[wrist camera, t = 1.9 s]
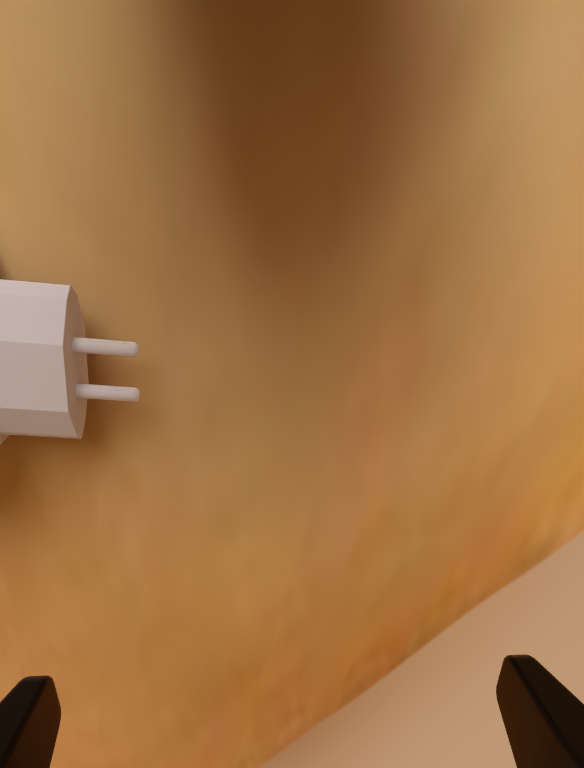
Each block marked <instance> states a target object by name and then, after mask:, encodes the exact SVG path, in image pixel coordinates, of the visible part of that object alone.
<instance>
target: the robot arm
mask: <svg viewBox="0 0 584 768" xmlns="http://www.w3.org/2000/svg"><path fill="white" fill-rule="evenodd" d="M496 694H497V700H498V704H499V708H500V711H501V715H502V718H503V722H504V725H505V728H506V732H507V735H508V738H509V742H510V745H511V748H512V752H513V755H514V759H515V762H516V766H517V768H584V704H583V703H582V702H580V700H579V699H578V698H576V697H575V696H574V695H573V694H572V693H571V692H570V691H569V690H568V689H567V688H566V687H565V686H564V685H562V684H561V683H560V682H559V681H558V680H557V679H556V678H555V677H554V676H553V675H552V674H551V673H550V672H549V671H547V670H546V669H545V668H544V667H543V666H542V665H541V664H540V663H539V662H538V661H537V660H535V658H533V657H531V656H529V655H508V656H506V657H505V658H504V661H503V664H502V668H501V671H500V675H499V679H498V683H497V687H496ZM60 719H61V707H60V703H59V699H58V696H57V692H56V688H55V684H54V681H53V679H52V678H51V677H50V676H29V677H26V678H24V679H22V680H21V681H20V682H19V683H18V684H17V685H16V686H15V687H14V688H13V689H12V690H11V691H10V692H9V693H8V695H7V696H6V697H5V698H4V699H3V700H2V701H1V702H0V768H50V763H51V759H52V755H53V751H54V746H55V742H56V738H57V734H58V730H59V725H60Z"/></svg>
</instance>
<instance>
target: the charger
mask: <svg viewBox="0 0 584 768" xmlns="http://www.w3.org/2000/svg"><path fill="white" fill-rule="evenodd" d="M87 353H90V354H103V355H117V356H130V357H136V356H137V355H138V353H139V345H138V344H137V343H136V342H131V341H118V340H105V339H92V338H86V333H85V324H84V320H83V316H82V312H81V309H80V305H79V301H78V297H77V294H76V293H75V291H74V290H73V288H72V287H71V285H59V284H48V283H37V282H25V281H14V280H2V279H0V445H1V444H2V442H3V441H4V440H5V439H6V438H7V437H8V436H9V435H24V436H41V437H58V438H75V439H82V435H83V430H84V425H85V420H86V408H87V399H101V400H116V401H131V402H137V401H138V400H139V398H140V391H139V389H138V388H135V387H121V386H107V385H92V384H89V381H88V365H87Z"/></svg>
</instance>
